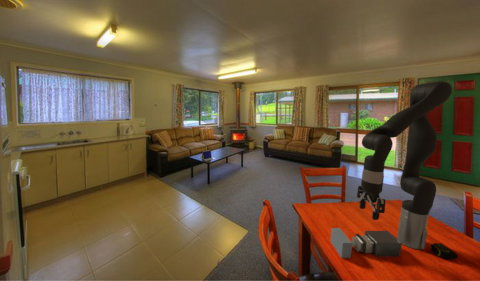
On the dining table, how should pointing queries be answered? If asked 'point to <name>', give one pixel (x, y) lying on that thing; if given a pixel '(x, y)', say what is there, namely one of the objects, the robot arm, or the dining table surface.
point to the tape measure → (443, 251)
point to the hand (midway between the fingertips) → (368, 213)
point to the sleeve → (385, 244)
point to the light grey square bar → (363, 243)
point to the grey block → (341, 243)
